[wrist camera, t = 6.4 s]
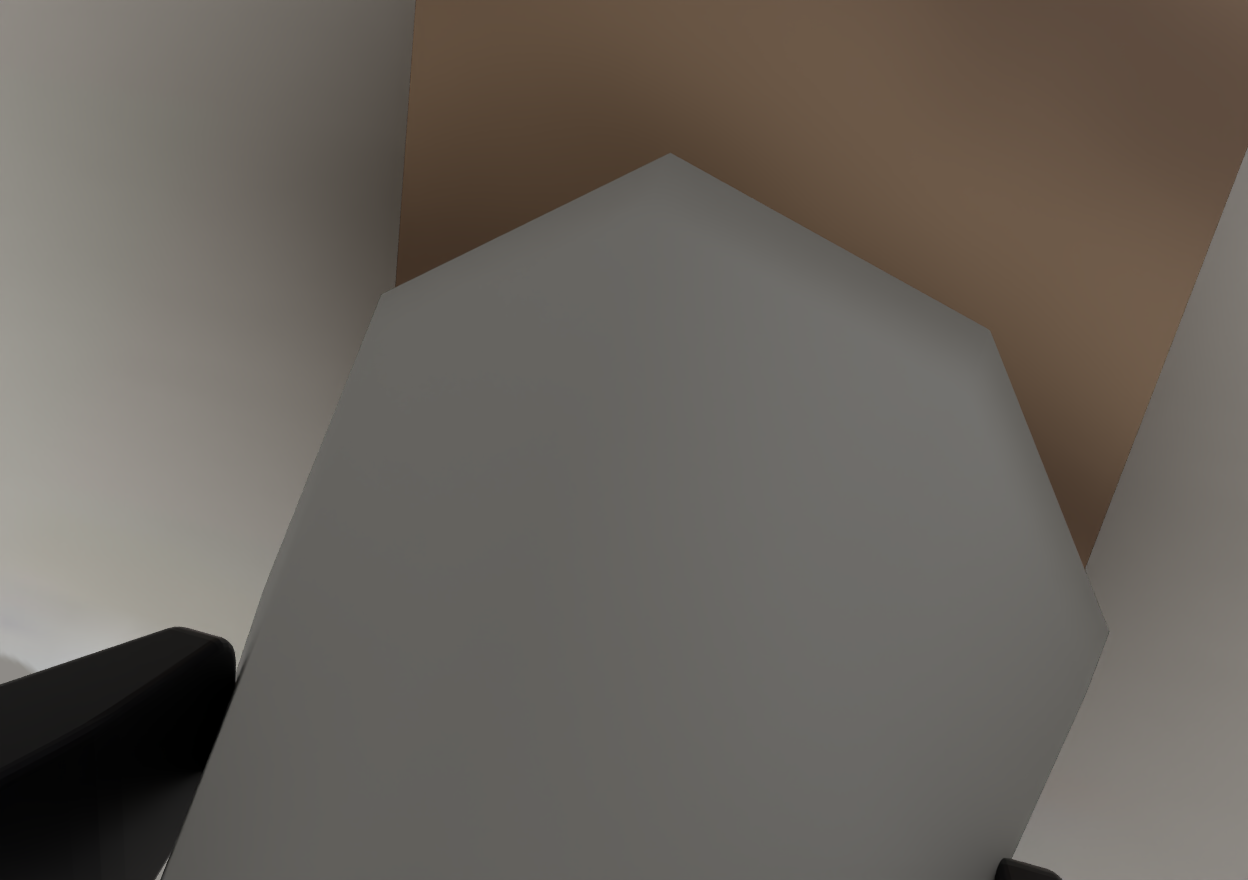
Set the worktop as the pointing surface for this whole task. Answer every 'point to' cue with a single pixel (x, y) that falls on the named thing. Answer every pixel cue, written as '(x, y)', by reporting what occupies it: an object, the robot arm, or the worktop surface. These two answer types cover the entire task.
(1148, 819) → the worktop surface
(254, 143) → the worktop surface
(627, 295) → the flask
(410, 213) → the walnut board
